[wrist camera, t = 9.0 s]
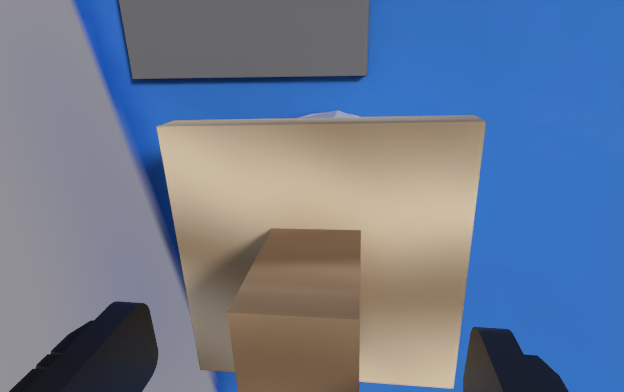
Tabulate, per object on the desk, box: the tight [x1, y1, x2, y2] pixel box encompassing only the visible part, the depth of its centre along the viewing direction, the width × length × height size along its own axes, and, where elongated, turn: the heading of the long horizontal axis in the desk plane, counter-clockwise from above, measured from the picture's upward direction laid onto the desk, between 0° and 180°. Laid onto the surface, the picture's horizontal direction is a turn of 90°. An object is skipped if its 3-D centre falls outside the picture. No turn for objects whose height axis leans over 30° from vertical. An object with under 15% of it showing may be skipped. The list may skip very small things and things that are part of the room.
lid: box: [157, 115, 486, 392], centre depth 12 cm, size 10×10×6 cm
